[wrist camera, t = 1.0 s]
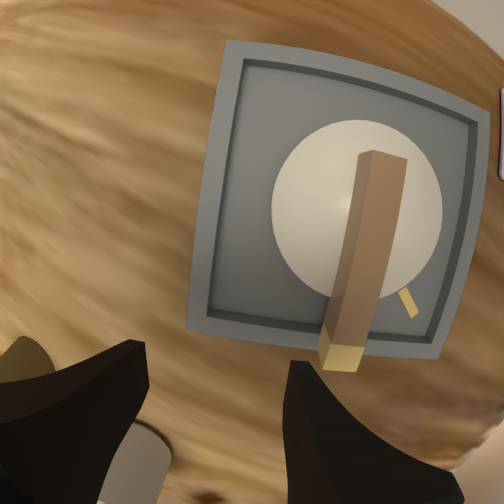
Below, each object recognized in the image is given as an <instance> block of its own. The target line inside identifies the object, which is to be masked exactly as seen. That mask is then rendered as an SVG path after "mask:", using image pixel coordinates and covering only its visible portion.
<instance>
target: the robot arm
mask: <svg viewBox="0 0 504 504" xmlns="http://www.w3.org/2000/svg"><path fill="white" fill-rule="evenodd" d="M501 116H502V123H501V153H500V167H499V176H500V178H501V179H502V180H503V181H504V88H502V89H501ZM149 386H150V385H149V377H148V369H147V360H146V350H145V342H141V341H136V340H131V339H129V340H126V341H124V342H122V343H120V344H117V345H115V346H113V347H111V348H109V349H107V350H105V351H103V352H101V353H99V354H97V355H95V356H93V357H91V358H88V359H86V360H84V361H81V362H79V363H77V364H74V365H72V366H70V367H67V368H65V369H62V370H59V371H56V372H53V373H50V374H46V375H43V376H39V377H35V378H30V379H25V380H19V381H14V382H5V383H0V504H97V502H98V498H99V495H100V492H101V489H102V486H103V483H104V480H105V478H106V475H107V472H108V470H109V467H110V465H111V462H112V460H113V457H114V455H115V453H116V451H117V449H118V448H119V446H120V444H121V442H122V441H123V439H124V437H125V435H126V434H127V432H128V430H129V428H130V427H131V425H132V423H133V422H134V420H135V418H136V416H137V414H138V413H139V411H140V409H141V407H142V405H143V402H144V400H145V397H146V395H147V392H148V389H149ZM282 429H283V439H284V449H285V458H286V468H287V479H288V503H287V504H463V503H464V501H465V500H464V496H463V494H462V492H461V489H460V487H459V485H458V483H457V481H456V479H455V477H454V475H453V474H452V473H451V472H449V471H446V470H443V469H440V468H437V467H434V466H432V465H429V464H426V463H424V462H422V461H419V460H417V459H415V458H413V457H411V456H409V455H407V454H405V453H403V452H402V451H400V450H398V449H396V448H395V447H393V446H391V445H390V444H388V443H387V442H385V441H384V440H382V439H381V438H379V437H378V436H376V435H375V434H374V433H372V432H371V431H370V430H369V429H367V428H366V427H365V426H364V425H363V424H361V423H360V422H359V421H358V420H357V419H356V418H355V417H353V416H352V415H351V414H350V413H349V412H348V411H347V410H346V408H345V407H344V406H343V405H342V404H341V403H340V402H339V401H338V400H337V398H336V397H335V396H334V395H333V394H332V392H331V391H330V390H329V389H328V387H327V386H326V385H325V383H324V382H323V381H322V379H321V378H320V377H319V375H318V374H317V372H316V371H315V370H314V368H313V367H312V365H311V364H310V363H309V361H293V360H291V362H290V368H289V374H288V379H287V385H286V391H285V396H284V402H283V424H282Z"/></svg>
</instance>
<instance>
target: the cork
mask: <svg viewBox="0 0 504 504" xmlns="http://www.w3.org/2000/svg"><path fill="white" fill-rule="evenodd" d="M53 372H55V369H54V365H53V363H52V362H51V360H50V358H49V356H48V355H47V353H46V352H45V351H44V349H43V348H42V347H41V346H40V345H39V344H38V343H37V342H35V341H34V340H32V339H31V338H29V337H25V336H22V337H19V338H18V339H17V340H16V341H15V342H14V343H13V344H12V345H11V346H10V347H9V348H8V349H7V351H6V352H5V353H4V354H3V355H2V356H1V357H0V383H5V382H14V381H19V380H25V379H30V378H35V377H39V376H43V375H46V374H50V373H53Z"/></svg>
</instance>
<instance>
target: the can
mask: <svg viewBox="0 0 504 504" xmlns="http://www.w3.org/2000/svg"><path fill="white" fill-rule="evenodd" d="M171 459H172V455H171V452H170V450H169V448H168V447H167V446H166V444H165V443H164V442H163V440H162V439H161V438H160V437H159V436H158V435H157V434H156V433H155V432H153V431H152V430H150V429H149V428H147V427H145V426H143V425H140V424H138V423H135V422H133V423H132V425H131V427H130V428H129V430H128V432H127V434H126V435H125V437H124V439H123V441H122V442H121V444H120V446H119V448H118V449H117V451H116V453H115V455H114V457H113V460H112V462H111V465H110V467H109V470H108V472H107V475H106V478H105V480H104V483H103V486H102V489H101V492H100V495H99V498H98V502H97V504H156V502H157V500H158V497H159V494H160V491H161V489H162V486H163V483H164V480H165V477H166V474H167V472H168V469H169V466H170V463H171Z"/></svg>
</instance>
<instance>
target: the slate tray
mask: <svg viewBox="0 0 504 504" xmlns="http://www.w3.org/2000/svg"><path fill="white" fill-rule="evenodd" d="M347 120H367V121H372V122H377V123H381V124H383V125H386V126H389V127H391V128H393V129H395V130H397V131H399V132H400V133H402V134H403V135H405V136H406V137H407V138H409V139H410V140H411V141H412V142H413V143H414V144H415V145H416V146H417V147H418V148H419V149H420V150H421V151H422V153H423V154H424V155H425V156H426V158H427V160H428V161H429V163H430V164H431V166H432V168H433V170H434V172H435V175H436V177H437V180H438V183H439V187H440V192H441V196H442V207H443V209H442V224H441V230H440V234H439V238H438V241H437V244H436V246H435V249H434V251H433V253H432V255H431V257H430V259H429V261H428V262H427V263H426V265H425V266H424V268H423V269H422V270H421V271H420V273H419V274H418V275H417V276H416V277H415V278H414V279H413V280H412V281H410V282H409V283H408V284H407V285H405V286H404V287H402V288H401V289H399V290H398V291H396V292H394V293H392V294H390V295H388V296H385V297H382V298H379V300H378V303H377V307H376V310H375V313H374V317H373V320H372V323H371V326H370V330H369V333H368V336H367V339H366V342H365V345H364V346H365V348H364V351H363V354H362V355H369V356H384V357H402V358H428V359H438V357H439V355H440V353H441V350H442V348H443V345H444V343H445V340H446V338H447V335H448V333H449V330H450V327H451V325H452V322H453V319H454V316H455V314H456V311H457V308H458V305H459V302H460V299H461V296H462V292H463V289H464V286H465V282H466V279H467V275H468V272H469V268H470V264H471V260H472V256H473V252H474V248H475V244H476V239H477V234H478V229H479V224H480V219H481V213H482V207H483V201H484V194H485V187H486V179H487V169H488V158H489V142H490V112H488V111H486V110H484V109H482V108H480V107H478V106H477V105H475V104H473V103H470V102H468V101H466V100H464V99H462V98H460V97H458V96H456V95H453V94H451V93H449V92H447V91H444V90H442V89H440V88H437V87H435V86H432V85H430V84H427V83H425V82H422V81H420V80H417V79H414V78H412V77H409V76H406V75H403V74H400V73H397V72H394V71H391V70H388V69H385V68H382V67H378V66H375V65H372V64H368V63H365V62H361V61H357V60H353V59H349V58H345V57H341V56H337V55H332V54H328V53H323V52H318V51H313V50H308V49H302V48H296V47H290V46H283V45H276V44H267V43H258V42H248V41H235V40H227V41H226V46H225V50H224V55H223V60H222V65H221V70H220V75H219V80H218V85H217V90H216V96H215V101H214V107H213V112H212V118H211V124H210V130H209V136H208V142H207V149H206V155H205V162H204V168H203V175H202V182H201V190H200V197H199V205H198V212H197V221H196V229H195V238H194V247H193V256H192V266H191V276H190V287H189V298H188V310H187V323H186V330H191V331H196V332H201V333H206V334H211V335H217V336H222V337H228V338H233V339H239V340H245V341H251V342H257V343H264V344H271V345H277V346H285V347H292V348H300V349H308V350H316V351H318V349H317V344H318V340H319V337H320V333H321V329H322V326H323V323H324V322H325V318H326V315H327V311H328V307H329V303H330V299H331V297H328V296H325V295H323V294H321V293H319V292H317V291H315V290H314V289H312V288H311V287H309V286H308V285H307V284H305V283H304V282H303V281H302V280H301V279H300V278H299V277H298V276H296V274H295V273H294V272H293V271H292V270H291V268H290V267H289V266H288V264H287V262H286V261H285V259H284V258H283V256H282V254H281V252H280V249H279V247H278V245H277V242H276V238H275V235H274V231H273V225H272V211H271V205H272V194H273V190H274V186H275V182H276V179H277V177H278V174H279V172H280V170H281V168H282V166H283V164H284V162H285V161H286V159H287V158H288V157H289V155H290V154H291V152H292V151H293V150H294V149H295V148H296V147H297V146H298V145H299V144H300V143H301V141H303V140H304V139H305V138H307V137H308V136H309V135H310V134H312V133H314V132H315V131H317V130H319V129H321V128H323V127H325V126H328V125H330V124H333V123H337V122H341V121H347Z"/></svg>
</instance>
